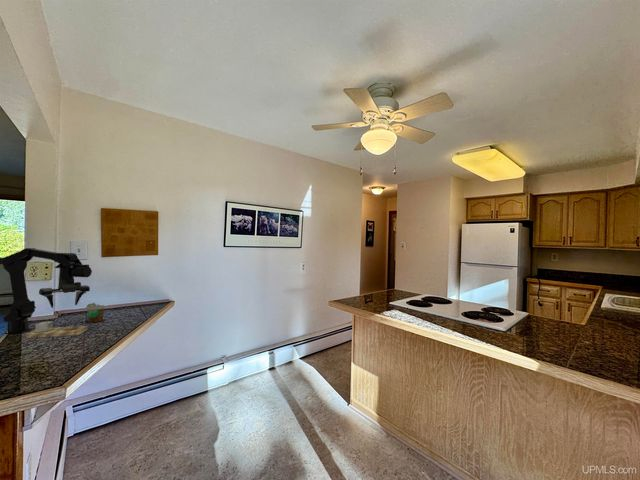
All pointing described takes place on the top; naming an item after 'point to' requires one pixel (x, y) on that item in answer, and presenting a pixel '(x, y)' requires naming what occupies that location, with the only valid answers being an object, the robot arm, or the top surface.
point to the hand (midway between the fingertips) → (64, 306)
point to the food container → (95, 313)
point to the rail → (58, 332)
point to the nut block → (44, 327)
